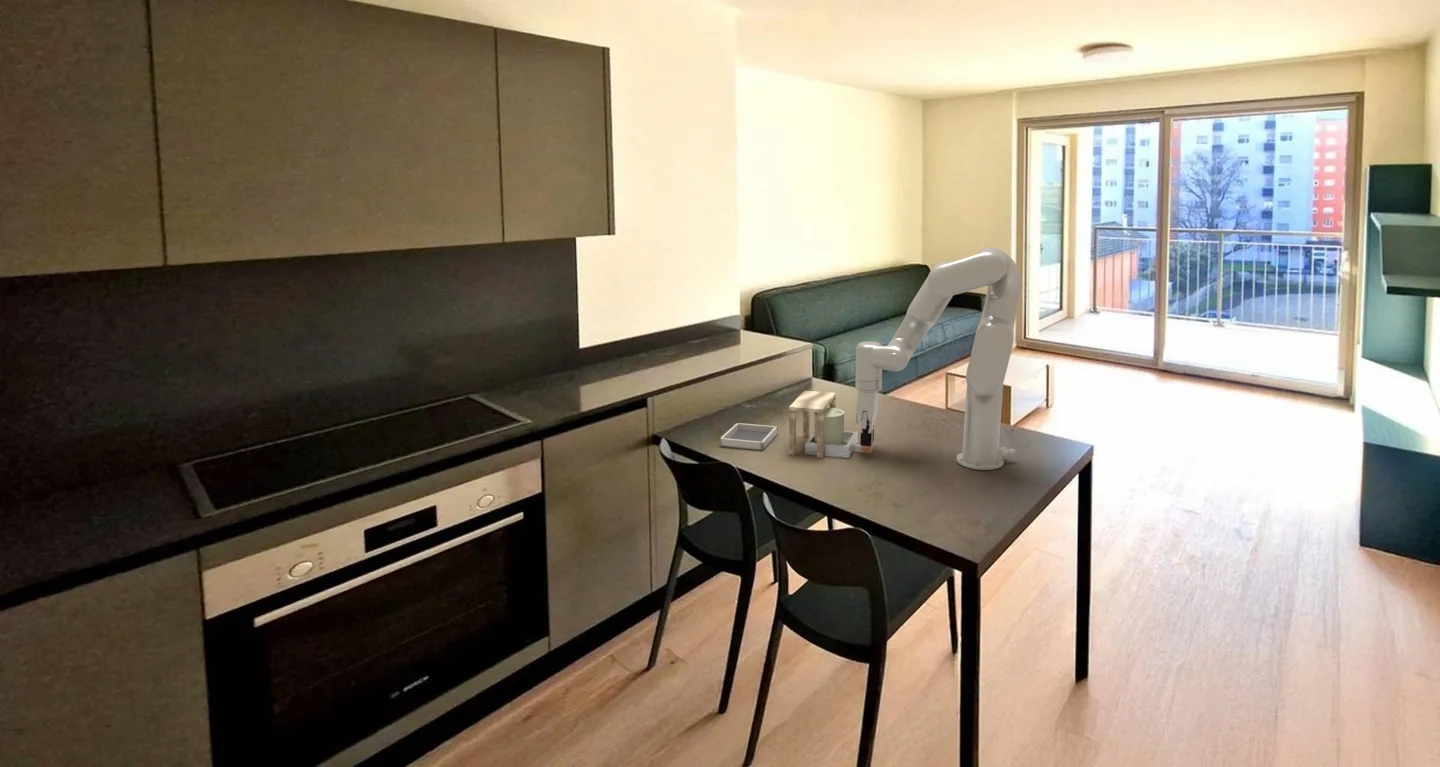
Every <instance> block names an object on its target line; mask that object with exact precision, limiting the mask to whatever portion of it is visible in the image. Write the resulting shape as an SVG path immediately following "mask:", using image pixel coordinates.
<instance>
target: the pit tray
mask: <svg viewBox="0 0 1440 767" xmlns="http://www.w3.org/2000/svg"><path fill="white" fill-rule="evenodd" d="M778 435H779V426H776V425H764V424H754V423H753V424H752V423H743V422H742V423H741V422H739V423H738V422H736V423H735V424H734V425H733V426H732V427H731V428H729V430H727V431H726V432H725V433H724V434H723V435H722V436H720V438H719V447H720V448H728V449H737V450H746V451H747V450H748V451H757V452H764V451H765V450H766V449H767V448H768V446H769V445H770V444H771V443H772V442H773V440H774V439H775V438H776V437H777V436H778Z"/></svg>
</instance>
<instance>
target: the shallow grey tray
mask: <svg viewBox="0 0 1440 767" xmlns="http://www.w3.org/2000/svg"><path fill="white" fill-rule="evenodd" d="M867 423H869V422H868V421H867ZM867 427H868V428H869V426H867ZM873 429H874V428H873V424H871V433H872V445H871V446H861V445H860V443H858V440H859V439H858V438H859V437H858V435H859V432H858V431H848V430H844V445H833V444H824V457H829V456H830V457H831V458H839V459H840V458H842V459H849V458H850V457H851V455H852V453H853V452H856V453H860V454H867V455H868V454H872V453H873V449H874V448H873V445H874V441H873ZM845 443H846V445H845ZM804 445H805V446H804V447H805V448H804V449H805V450H804V451H805V455H810V456H817V443H814V431H813V432H812V433H811V435H809V437H808V438H807V440H806V442H805V444H804Z"/></svg>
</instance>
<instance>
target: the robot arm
mask: <svg viewBox="0 0 1440 767" xmlns="http://www.w3.org/2000/svg"><path fill="white" fill-rule="evenodd" d="M984 287H987V290H986V296H985V299H984V305H983V310H982V313H981V317H980V321H979V324H978V326H977V328H976V331H975V335H974V341H973V345H972V348H971V353H970V356H969V357H970V358H969V362H968V365H967V367H966V373H965V382H966V391H965V408H964V422H963V438H962V439H963V441H962V452H960V453H958V454H957V455H956V463H957V464H959V465H961V467H964V468H968V469H972V470H978V471H979V470H980V471H990V470H991V471H992V470H998V469H1000V468H1002V467H1003V466H1004V459H1003V458H1005V457H1006V456H1007V457H1008V456H1009V457H1010V456H1011V457H1013V456H1016V450H1015V448H1007V447H1006V446H1002V447H1001V446H1000V434H1001V421H1002V420H1001V419H1002V409H1003V408H1002V406H1003V395H1004V394H1003V391H1004V382H1005V377H1006V374H1007V370H1008V366H1009V363H1010V358H1011V355H1012V351H1013V347H1014V341H1015V340H1014V339H1015V331H1014V329H1015V323H1016V318H1017V314H1018V309H1019V304H1020V300H1021V295H1022V275H1021V273H1020V270H1019V268H1018V265H1017V264H1016V262H1015V260H1013V258H1012V257H1011V256H1009V255H1008V253H1006V252H1005V251H1004V250H1001V249H999V248H997V247H992V246H991V247H986V248H983V249H981V250H980V251H978V252H977V254H975V255H971V256H969V257H965V258H961V259H958V260H955V261H942V262H939V263H937V264H935V265H934V267H933V268H931V270H930V271H929V272H928V276H927V277H926V279H925V280H924V282H923V284H922V285H921V287H920V289H919V290H918V292H917V293H916V295H915V296H914V298H913V299H912V301H911V303H910V304H909V307H907V308H908V309H907V310H906V314H905V316H904V319H903V320H902V322H901V324H899V325H900V326H898V328H897V330H896V332H895V333H894V335H893V337H892V338H891V340H890V341H889V342H888V344H887V345H882V344H881V343H880V342H878V341H871V340H870V341H868V340H867V341H862V342H858V343H857V345H856V347H855V349H856V352H855V354H856V355H855V390H856V391H858V392H857V398H856V399H857V400H856V408H855V409H856V412H855V423H856V424H857V425H858V424H860V440H859V444H860V445H861V446H871V445H872V433H871V424H873V442H874V440H875V437H874V436H875V434H874V433H875V429H874V428H875V426H874V425H875V420H876V419H877V416H878V407H879V406H878V405H879V404H878V402H879V400H878V398H879V395H878V394H879V392H880V391H882V389H883V388H882V385H883V384H882V383H883V370H884V371H889V372H899V371H902V370H904V369H905V368H906V367H907V366H908V363H909V362H910V359H911V358H912V356H913V355H914V353H915V351H916V349H917V348H918V347H919V345H920V344H921V342H922V340H923V339H924V337H925V336H926V334H927V333H928V332H929V330H930V329H932V328H933V327H934V325H935V324H936V323H937V321H938V320H939V318H940V317H941V315H942V314H943V312H944V310H945V309H946V307H947V306H948V305H949V303H950V301H951V300H952V299H953V296H955V295H960V294H962V293H966V292H971V291H972V290H973V291H974V290H977V289H980V288H984ZM867 421H868V422H869V423H867ZM867 426H869V428H868V427H867Z"/></svg>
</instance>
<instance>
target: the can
mask: <svg viewBox="0 0 1440 767" xmlns="http://www.w3.org/2000/svg"><path fill="white" fill-rule="evenodd" d="M813 414H814V415H813V424H814V426H813V427H814V430H813V432H814V443H817V412H813ZM844 431H845V410H843V409H840V408H837V407H836V408H830V407H827V408H826V409H825V410H824V444H833V445H844V446H845V443H844Z"/></svg>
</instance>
